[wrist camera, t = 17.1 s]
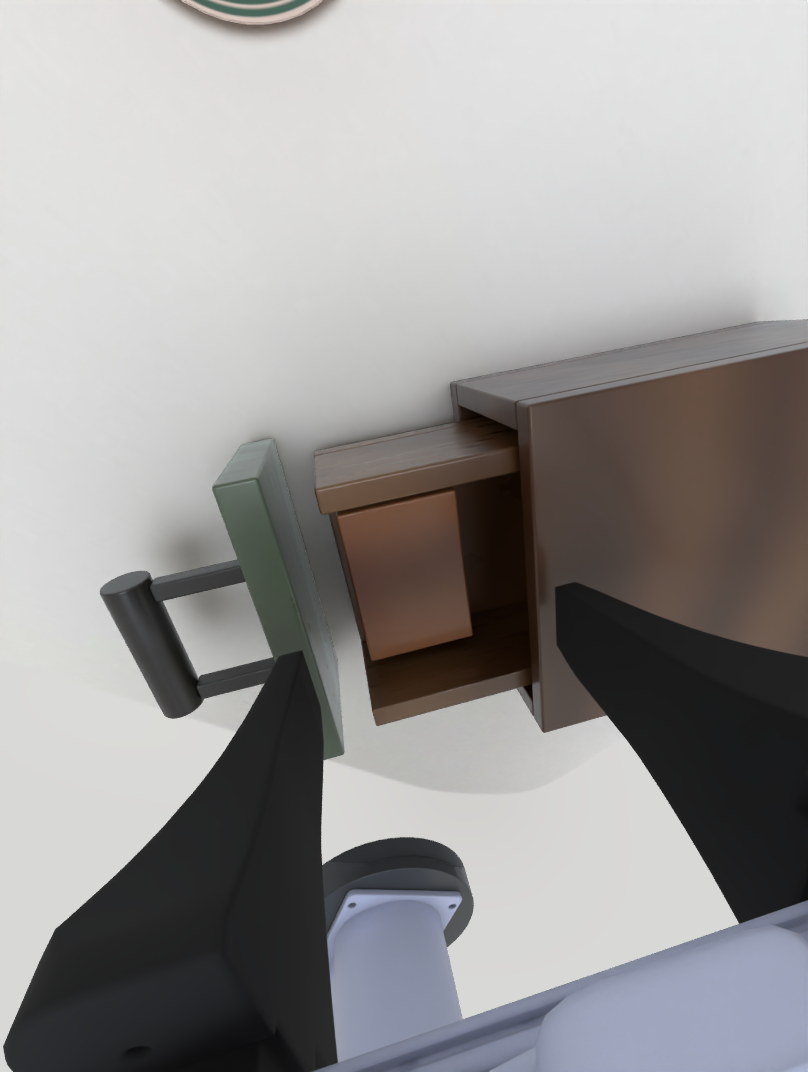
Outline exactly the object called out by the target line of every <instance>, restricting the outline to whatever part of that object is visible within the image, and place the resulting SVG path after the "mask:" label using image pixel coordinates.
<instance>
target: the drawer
mask: <svg viewBox="0 0 808 1072" xmlns="http://www.w3.org/2000/svg"><path fill="white" fill-rule="evenodd" d="M314 458H315V459H314V461H315V494H316V498H317V502H318V506H319V509H320V513H321V514H324V515H325V514H329V517H330V521H331V525H332V529H333V533H334V537H335V541H336V545H337V548H338V552H339V556H340V560H341V564H342V568H343V572H344V576H345V580H346V584H347V588H348V592H349V596H350V600H351V604H352V607H353V611H354V615H355V619H356V623H357V627H358V631H359V635H360V639H361V644H362V650H363V656H364V663H365V669H366V675H367V681H368V688H369V694H370V700H371V706H372V712H373V716H374V719H375V723H376V725H377V726H380V725H383V724H387V723H391V722H394V721H398V720H402V719H405V718H409V717H413V716H416V715H420V714H424V713H427V712H431V711H435V710H438V709H442V708H446V707H449V706H453V705H457V704H461V703H464V702H468V701H472V700H475V699H479V698H483V697H486V696H490V695H494V694H497V693H501V692H505V691H508V690H512V689H516V688H519V687H523V686H527V685H530V684H532V670H531V652H530V635H529V617H528V599H527V581H526V564H525V546H524V528H523V510H522V493H521V475H520V457H519V439H518V430H515V429H513V428H511V427H508V426H506V425H504V424H502V423H499V422H497V421H495V420H492V419H490V418H488V417H485V416H483V417H478V418H473V419H468V420H463V421H459V422H454V423H449V424H444V425H439V426H434V427H429V428H425V429H420V430H415V431H410V432H405V433H400V434H395V435H391V436H386V437H381V438H376V439H371V440H366V441H361V442H357V443H352V444H347V445H342V446H337V447H332V448H327V449H323V450H318V451H315V453H314ZM447 487H452V488H453V489H454V490H455V491H456V499H457V508H458V516H459V524H460V532H461V540H462V549H463V557H464V565H465V573H466V581H467V590H468V598H469V606H470V614H471V622H472V631H473V635H472V636H469V637H465V638H461V639H457V640H454V641H450V642H446V643H442V644H438V645H434V646H430V647H426V648H422V649H418V650H415V651H411V652H407V653H403V654H399V655H395V656H391V657H387V658H383V659H380V660H376V661H372V660H371V657H370V653H369V649H368V645H367V641H366V637H365V633H364V629H363V625H362V621H361V617H360V613H359V609H358V605H357V601H356V597H355V593H354V589H353V585H352V581H351V577H350V573H349V569H348V564H347V560H346V556H345V552H344V548H343V544H342V540H341V536H340V532H339V528H338V524H337V520H336V514H335V512H338V511H343V510H347V509H352V508H356V507H361V506H365V505H370V504H374V503H379V502H383V501H388V500H393V499H397V498H402V497H406V496H411V495H415V494H420V493H424V492H429V491H433V490H438V489H442V488H447ZM212 490H213V493H214V496H215V498H216V501H217V504H218V507H219V509H220V512H221V515H222V518H223V520H224V523H225V526H226V529H227V531H228V534H229V537H230V540H231V542H232V545H233V548H234V551H235V553H236V556H237V560H233V561H229V562H224V563H220V564H215V565H211V566H207V567H202V568H198V569H193V570H189V571H184V572H180V573H176V574H171V575H167V576H162V577H158V578H155V579H154V580H153V579H152V577H151V575H150V573H148V572H147V571H135V572H131V573H127V574H124V575H121V576H119V577H117V578H115V579H113V580H111V581H109V582H108V583H106V584H105V585H104V586H103V587H102V588H101V589H100V595H101V597H102V599H103V601H104V603H105V605H106V606H107V608H108V610H109V612H110V614H111V616H112V618H113V620H114V622H115V623H116V625H117V627H118V629H119V631H120V633H121V635H122V637H123V639H124V640H125V642H126V644H127V646H128V648H129V650H130V652H131V654H132V655H133V657H134V659H135V661H136V663H137V665H138V667H139V669H140V671H141V672H142V674H143V676H144V678H145V680H146V682H147V684H148V686H149V688H150V689H151V691H152V693H153V695H154V697H155V699H156V701H157V703H158V704H159V706H160V708H161V710H162V712H163V714H164V715H165V716H166V717H168V718H172V719H174V718H180V717H183V716H186V715H188V714H190V713H191V712H193V711H194V710H196V709H197V708H198V707H199V706H200V705H201V704H202V702H203V700H204V699H205V698H208V697H212V696H216V695H220V694H224V693H228V692H232V691H236V690H240V689H244V688H248V687H252V686H255V685H259V684H263V683H265V682H266V680H267V678H268V676H269V674H270V672H271V670H272V668H273V666H274V664H275V662H276V660H277V659H278V657H279V656H281V655H285V654H289V653H293V652H297V651H301V650H302V651H303V654H304V657H305V660H306V663H307V666H308V669H309V672H310V675H311V679H312V682H313V685H314V688H315V691H316V694H317V697H318V700H319V703H320V706H321V715H322V726H323V739H324V756H323V760H326V759H329V758H333V757H336V756H340V755H343V754H344V741H343V728H342V715H341V701H340V688H339V675H338V662H337V657H336V653H335V650H334V646H333V643H332V639H331V636H330V632H329V629H328V626H327V622H326V619H325V615H324V612H323V608H322V605H321V601H320V598H319V594H318V591H317V587H316V584H315V580H314V577H313V573H312V570H311V566H310V563H309V560H308V556H307V553H306V549H305V546H304V542H303V539H302V535H301V532H300V528H299V525H298V521H297V518H296V514H295V511H294V507H293V504H292V501H291V497H290V494H289V490H288V487H287V483H286V480H285V476H284V473H283V469H282V466H281V462H280V459H279V455H278V452H277V448H276V445H275V442H274V440H273V439H266V440H261V441H256V442H251V443H246V444H242V445H241V446H240V448H239V449H238V451H237V452H236V453H235V455H234V456H233V458H232V459H231V461H230V462H229V464H228V465H227V466H226V468H225V469H224V471H223V472H222V474H221V475H220V476H219V478H218V479H217V481H216V482H215V484H214V485H213V487H212ZM242 582H246V584H247V586H248V589H249V592H250V595H251V597H252V600H253V603H254V606H255V608H256V611H257V614H258V617H259V619H260V622H261V625H262V628H263V630H264V633H265V636H266V639H267V641H268V644H269V647H270V650H271V652H272V655H273V658H269V659H265V660H261V661H257V662H253V663H249V664H245V665H241V666H237V667H233V668H229V669H225V670H221V671H217V672H213V673H209V674H205V675H201V676H200V677H199V678H198V676H197V674H196V672H195V670H194V668H193V665H192V663H191V661H190V659H189V657H188V655H187V653H186V650H185V648H184V646H183V644H182V642H181V640H180V637H179V635H178V633H177V631H176V629H175V627H174V625H173V622H172V620H171V618H170V616H169V614H168V612H167V609H166V607H165V605H164V603H163V601H164V600H168V599H173V598H177V597H181V596H186V595H190V594H194V593H199V592H203V591H207V590H211V589H216V588H220V587H224V586H229V585H233V584H237V583H242Z"/></svg>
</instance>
